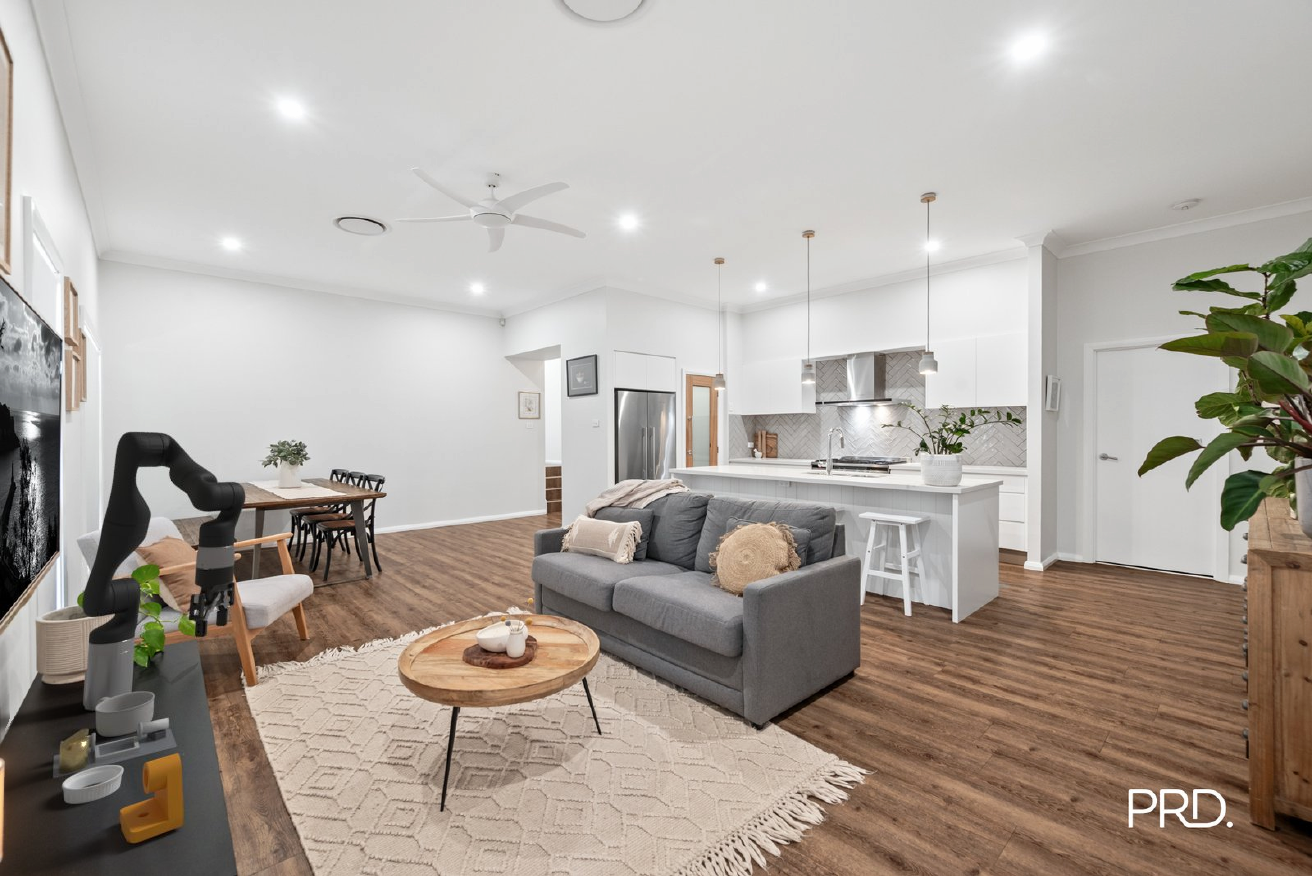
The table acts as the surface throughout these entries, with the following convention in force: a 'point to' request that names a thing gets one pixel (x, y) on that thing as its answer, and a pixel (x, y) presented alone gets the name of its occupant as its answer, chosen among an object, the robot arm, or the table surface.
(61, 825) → the table surface
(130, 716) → the teacup
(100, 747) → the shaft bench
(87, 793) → the ramekin
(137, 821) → the bracket
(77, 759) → the gold knob
